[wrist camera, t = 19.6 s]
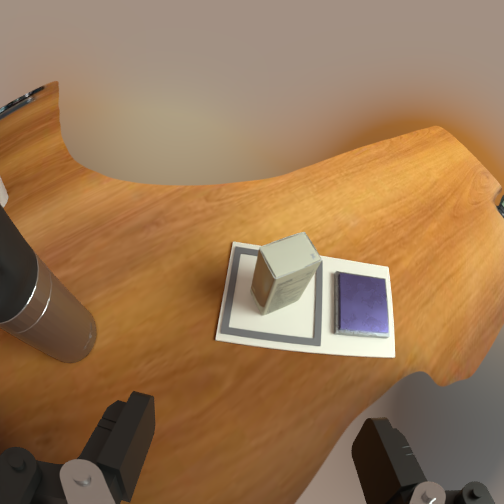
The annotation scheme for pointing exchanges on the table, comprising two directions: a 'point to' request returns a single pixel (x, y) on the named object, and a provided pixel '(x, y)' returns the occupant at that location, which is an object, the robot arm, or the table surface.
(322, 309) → the marked board
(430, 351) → the table surface
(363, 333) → the ink pad
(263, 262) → the skincare box
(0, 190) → the foam cup
